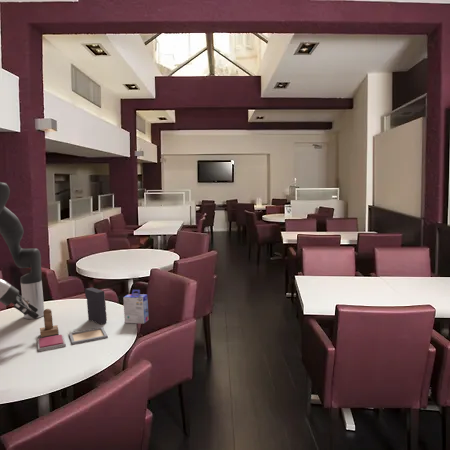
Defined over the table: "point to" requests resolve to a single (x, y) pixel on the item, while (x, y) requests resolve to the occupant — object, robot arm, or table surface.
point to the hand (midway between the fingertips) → (36, 314)
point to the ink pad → (51, 342)
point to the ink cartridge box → (136, 308)
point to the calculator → (96, 305)
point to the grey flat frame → (87, 335)
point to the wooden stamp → (48, 325)
